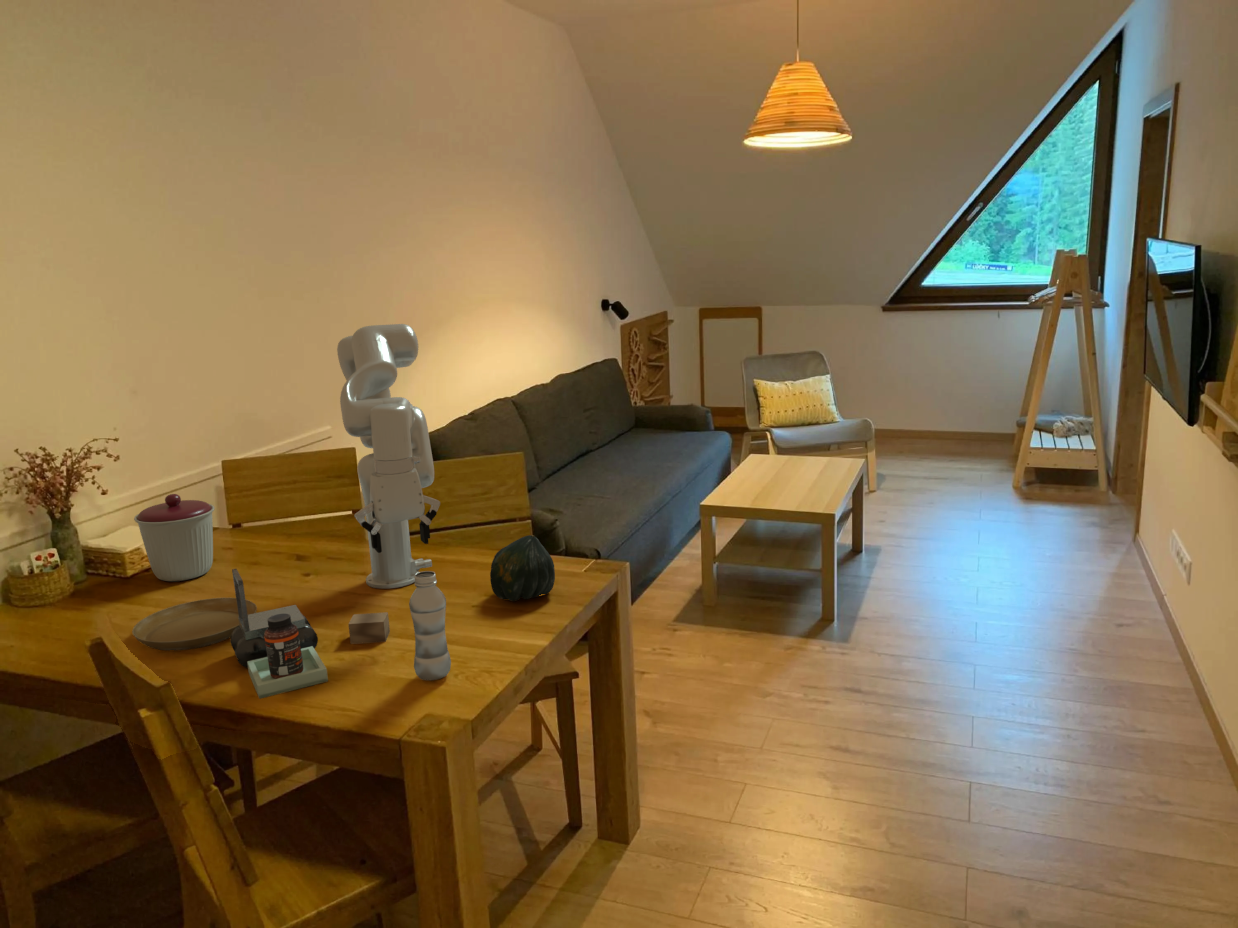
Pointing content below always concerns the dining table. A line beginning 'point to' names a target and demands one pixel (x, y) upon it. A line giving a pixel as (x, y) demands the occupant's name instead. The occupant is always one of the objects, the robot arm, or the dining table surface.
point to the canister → (178, 538)
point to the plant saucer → (191, 624)
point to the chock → (369, 628)
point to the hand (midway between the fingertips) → (401, 546)
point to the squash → (522, 570)
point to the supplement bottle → (283, 647)
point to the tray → (269, 686)
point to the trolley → (262, 627)
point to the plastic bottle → (429, 628)
